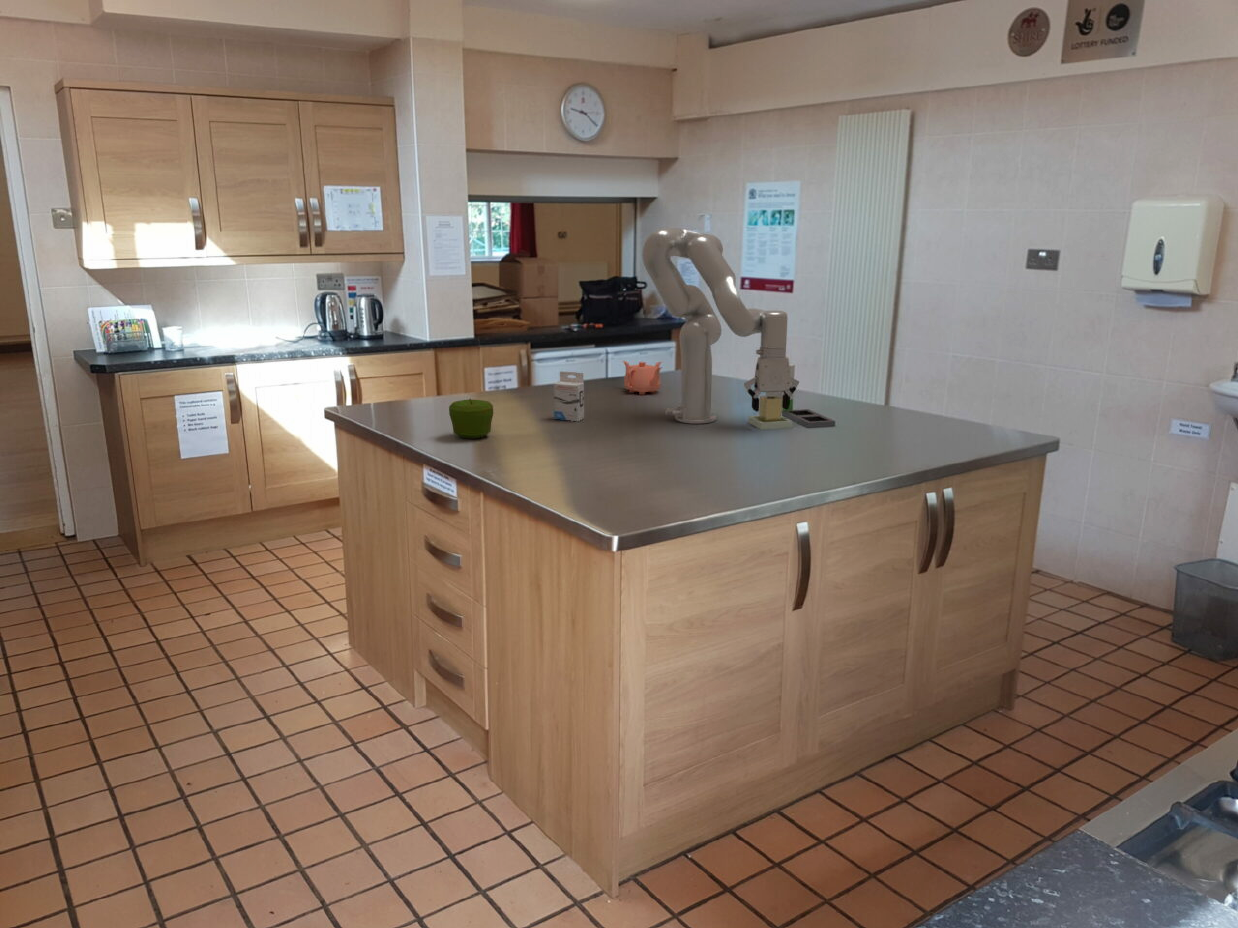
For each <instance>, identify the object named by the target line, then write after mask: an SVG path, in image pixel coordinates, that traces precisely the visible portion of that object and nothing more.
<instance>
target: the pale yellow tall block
mask: <svg viewBox="0 0 1238 928" xmlns="http://www.w3.org/2000/svg"><path fill="white" fill-rule="evenodd" d="M781 411H782V398H779V397H777V396H766V395H765V396H764V395H763V396H761V395H759V411H758V416H759V420H760V421H762V422H776V421H781V416H782V414H781Z"/></svg>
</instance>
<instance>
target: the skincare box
mask: <svg viewBox="0 0 1238 928" xmlns="http://www.w3.org/2000/svg"><path fill="white" fill-rule="evenodd" d="M789 365H790V377H792V378H794V379H795V368H796V366H795V365H796V364H795V363H789ZM791 386H792V382H790V387H791ZM794 393H795V391H794V392H793V394H792V396H790V406H789V409H788V410H794ZM783 395H784V392H783V391H781V392H765V396H777V397H779V398H782V401H783ZM782 411H786V409H784V408H782ZM782 411H781V415H782Z"/></svg>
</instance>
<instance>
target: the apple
mask: <svg viewBox="0 0 1238 928" xmlns="http://www.w3.org/2000/svg"><path fill="white" fill-rule="evenodd" d="M448 413H449V417H450V420H451V424H452V431H453V434H454V435H456V436H458V437H460V438H461V439H462V438H463V439H480V437H481V438H484V437H485V436H487V435H488V434H489V433H491V429H492V421H493V417H494V405H493V404H492V403H491V402H490V401H488V400H480V399H471V398H469V399H462V400H461V399H460V400H456V401H453V402H452V403H451V404H450V405H449V406H448ZM483 436H484V437H483Z"/></svg>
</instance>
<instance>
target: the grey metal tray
mask: <svg viewBox="0 0 1238 928" xmlns="http://www.w3.org/2000/svg"><path fill="white" fill-rule="evenodd" d="M781 416H783V417H785V418H787V419H789V420H791V421H793V422H794V423H796V424H798V425H800V426H802V427H804V428H806V429H812V428H813V429H816V428H818V429H819V428H833V427H836V420H833V419H832V418H830V417H827V416H825V415H823V414H821V413H818V412H816V411H813V410H811V409H808V408H807V409H805V408H804V409H793V410H786V411H782V414H781Z"/></svg>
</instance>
